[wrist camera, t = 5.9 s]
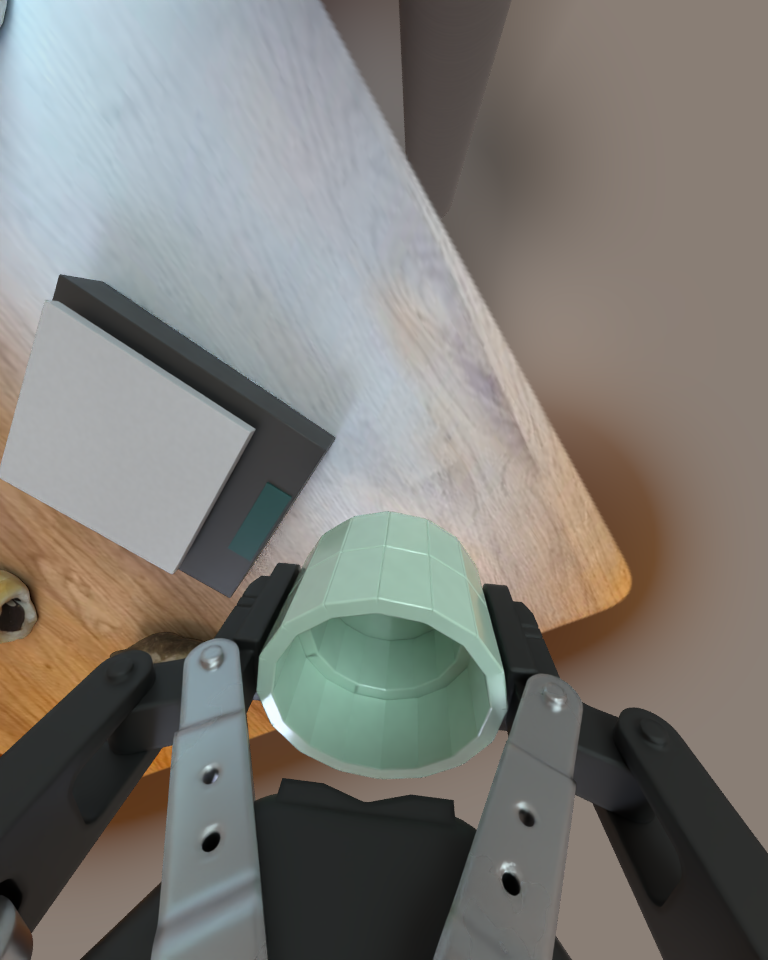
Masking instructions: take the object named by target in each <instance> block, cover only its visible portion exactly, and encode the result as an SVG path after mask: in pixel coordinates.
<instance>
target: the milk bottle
mask: <svg viewBox="0 0 768 960" xmlns="http://www.w3.org/2000/svg"><path fill="white" fill-rule="evenodd" d="M6 6H7V0H0V27H1V25H2V23H3V20H4V15H5V10H6Z"/></svg>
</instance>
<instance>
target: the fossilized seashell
mask: <svg viewBox="0 0 768 960" xmlns="http://www.w3.org/2000/svg"><path fill="white" fill-rule="evenodd" d="M201 643H203V641H199V640H195V639H190V638H182V637H180V636H179V635H177V634H174V633H170V632H163V633H157V634H153V635H151V636H149V637H146V638H144V639H142V640H141V641H139V642H137V643H135V644H134V645H132V646H131V647H129V648H128V649H124V650H120V651H116V652H114V653H112V654H111V655H110V658H111V657H112V656H114V655H117V654H119V653H122V652H126V651H131V650H141V651H145V652H147V653H148V654H149V655H150V656H151V658H152V661H153V664H154V663H160V662H166V661H173V660H179V659H183V658H186V657H187V656H188V654H189V653H190V652H191V651H192V650H193V649H194V648H195V647H197V646H198V645H200V644H201Z"/></svg>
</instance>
